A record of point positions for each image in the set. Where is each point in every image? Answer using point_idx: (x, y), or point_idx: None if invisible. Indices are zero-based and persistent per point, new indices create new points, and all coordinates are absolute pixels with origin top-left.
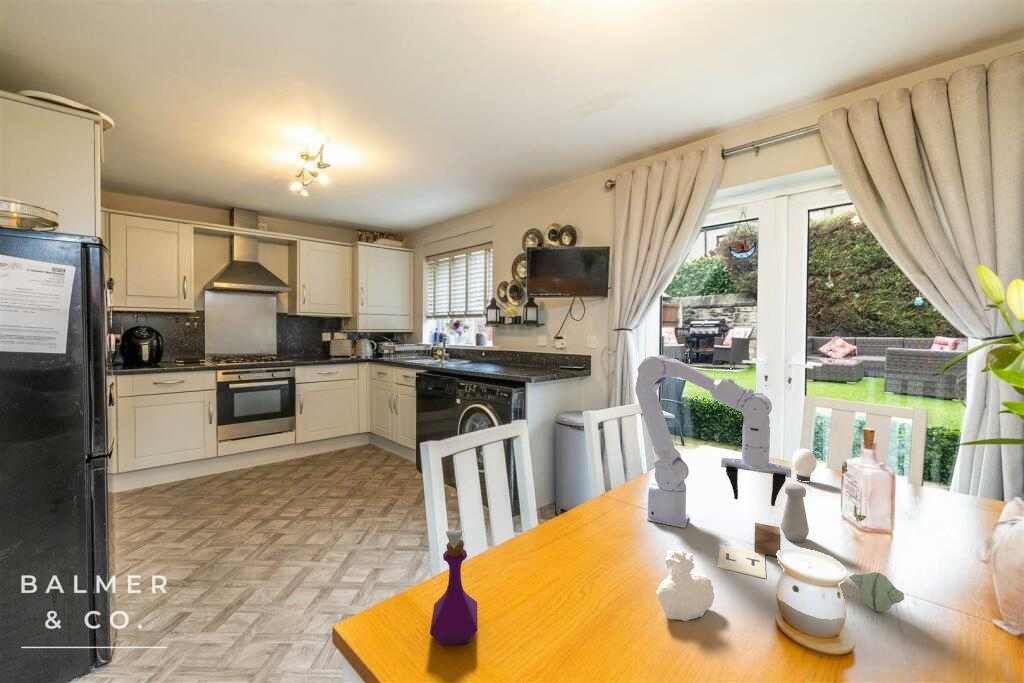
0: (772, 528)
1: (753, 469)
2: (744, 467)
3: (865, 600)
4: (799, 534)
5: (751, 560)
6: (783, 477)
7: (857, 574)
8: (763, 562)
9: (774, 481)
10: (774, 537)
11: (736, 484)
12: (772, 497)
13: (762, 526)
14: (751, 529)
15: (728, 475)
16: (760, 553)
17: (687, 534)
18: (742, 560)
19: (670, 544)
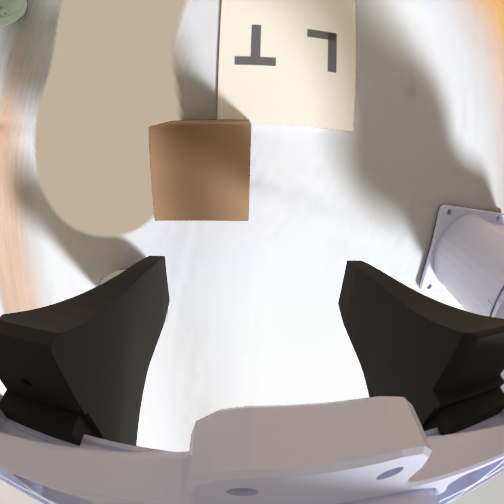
0: (178, 186)
1: (359, 420)
2: (438, 438)
3: (26, 1)
4: (115, 271)
5: (260, 55)
6: (14, 389)
7: (3, 3)
8: (223, 59)
9: (62, 328)
10: (174, 124)
11: (401, 299)
12: (141, 272)
13: (218, 187)
14: (253, 293)
15: (493, 318)
16: (230, 117)
17: (435, 169)
18: (287, 44)
19: (466, 90)
